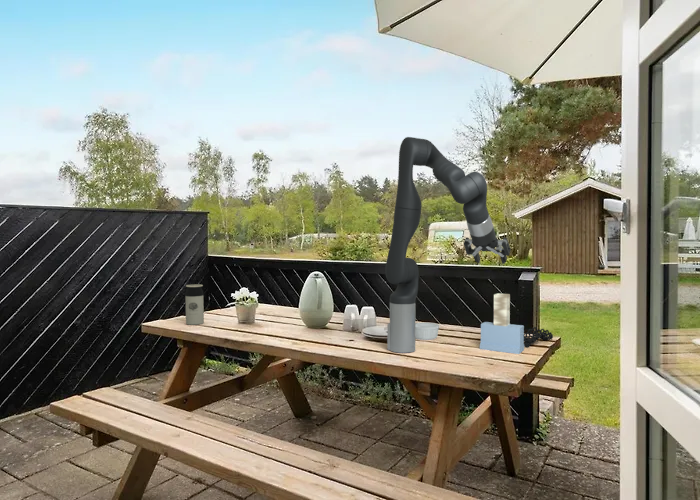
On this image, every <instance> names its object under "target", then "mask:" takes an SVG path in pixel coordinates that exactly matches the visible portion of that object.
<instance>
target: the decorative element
mask: <svg viewBox="0 0 700 500" xmlns="http://www.w3.org/2000/svg"><path fill="white" fill-rule="evenodd" d="M553 336H554V334H552V332H550V331H549V329H546V330H545V329H544V328H541V329H540V328H538V329H537V327H536V326H534V327H532V328H529V329H528V330H527V332H524V348H525V349H526V348H530V346H531V345H533V344H534V343H536V342H537V341H538V339H540V340H543V341H550V340H549V339H551V340H552V339H553V338H554V337H553Z"/></svg>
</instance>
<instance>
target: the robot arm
mask: <svg viewBox="0 0 700 500" xmlns="http://www.w3.org/2000/svg"><path fill="white" fill-rule="evenodd" d="M398 153H399V154H398V177H397V189H396V199H395V206H394V214H393V224H392V230H391V231H392V232H391V238H390V243H389V250H388V253H387V259H386V264H385V268H384V269H385V271H384V272H385V277H386V280H387V281H388V283H390V284H391V285H397V287H396V289H395V290H394V291H393V292H392V293H391V294H390V295H389V322H388V323H387V326H386V328H387V331H386V332H387V335H386V336H387V338H386V339H387V342H386V343H387V346H386V347H387V348H386V349H387V350H388V351H391V352H394V353H402V354H403V353H404V354H405V353H406V354H407V353H412V352H415V351H416V338H415V323H416V298H417V297H418V293H419V273H420V272H419V267H418V264H417V262H416V260H415V259H413V258H412V257H411V258H410V257H407V252H408V251H407V250H408V247H409V244H410V242H411V240H412V238H413V236H414V235H415V233H416V231H417V229H418V228H419V224H420V222H421V215H422V213H421V212H422V206H423V205H422V200H421V197H420V194H419V192H418V189H417V188H416V186H415V185H416V184H415V181H414V175H413V174H414V171H413V170H414V166H417V167H418V166H419V167H423V166H424V167H428V168H430V169H432V173H433V176H434V178H435V179H436V180H437V181H438V182H439V183H441V184H443V185H444V186H445V187H446V188H447V190H448V191H449V193H450V195H451V197H452V198H453V200H454V201H455V202H456V203H458V204H459V205H463V206H462V211H463V215H464V217H465V220H466V226H467V230H468V231H469V235H470V238H469V237H465V238H464V241H463V247H464V250H465V254H466V255H467V256H468V255H469V256H470V255H471V256H472V257H473V260H474V261H475V262H476V263H477V264H480V262H481V256H480V251H481V252H492V253H494V254H495V255H498V256H499V258H500V262H501V264H502V265H504V264H506V263H507V260H508V257H509V256H510V253H511V247H510V243H509V241H508V238H507V237H503V238H502V239H499V238H498V237H497V236H496V232H495V231H496V230H495V228H494V225H493V221H492V217H491V215H490V213H489V210H488V207H487V197H488V196H487V194H488V184H487V181H486V179H485V176H484V175H483V174H482V173H480V172H479V171H471V172H469V173H468V174H467V175H466V173H465V171H464V170H463V169H462V168H461V167H460V166H458V165H457V164H455V163H454V162H452V161H451V160H449V159H448V158H447V157H446V156H445V155H444V154H443V153H442V152H441V151H440V150H439V149H438V148H437V147H436V145H434V144H433V143H432V141H430V140H428V139H426V138H419V137H411V136H406V137H404V138H403V139H402V141H401V143H400V147H399V152H398ZM472 245H473V247H474V248H472ZM507 256H508V257H507Z"/></svg>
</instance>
